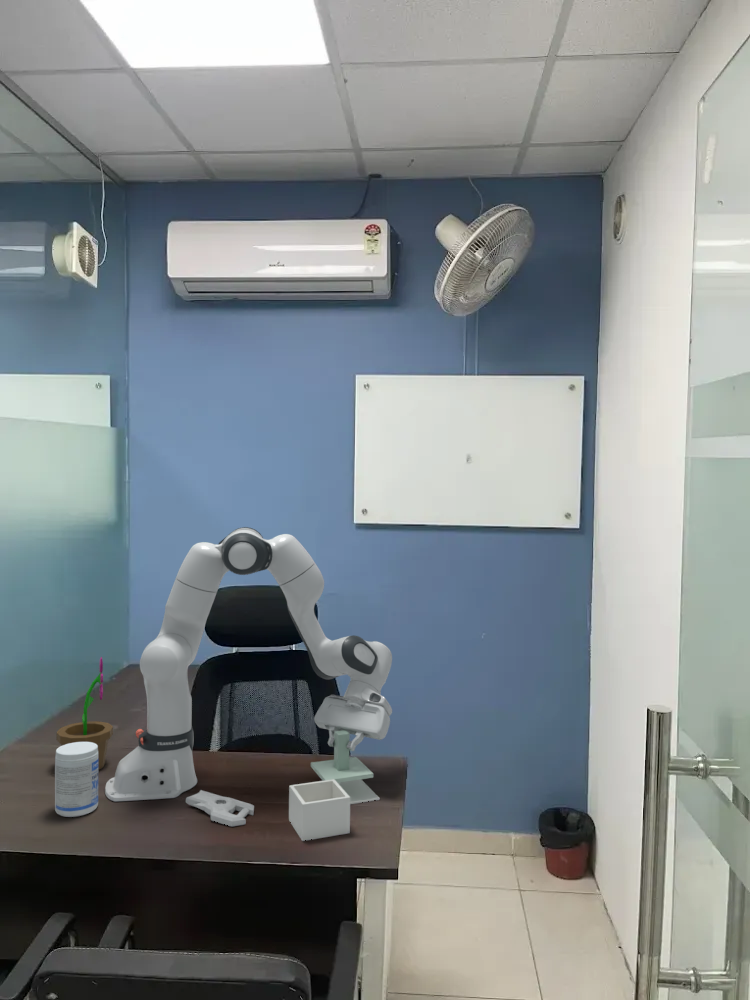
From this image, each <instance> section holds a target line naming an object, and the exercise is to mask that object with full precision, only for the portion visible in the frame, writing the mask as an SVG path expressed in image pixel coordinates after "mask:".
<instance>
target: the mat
mask: <svg viewBox="0 0 750 1000" xmlns="http://www.w3.org/2000/svg"><path fill="white" fill-rule="evenodd" d="M338 784H339V785H340V786H341V787H342V788H343V790H344V791H345V792H346V793H347V794H348V795H349V796H350V805H356V804H361V803H362V802H363V803H368V801H369V802H375V801H374V800H376V801H380V797H379V796H378V795H377V794H376V793H375V792H374V791H373V790H372V788H370V786H369V785H368V784H367V783H365V782H364V781H363V779H360V780H353V781H346V782H339V783H338Z"/></svg>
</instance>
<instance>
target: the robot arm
mask: <svg viewBox="0 0 750 1000" xmlns="http://www.w3.org/2000/svg"><path fill="white" fill-rule="evenodd" d="M265 570H267V571H269V573H270V574H271V575H272V577H273V578H274V579H275V581H276V583H277V584H278V586H279V588H280V589H281V591H282V592H283V595H284V597H285V600H286V607H287V611H288V614H289V616H290V618H291V620H292V623H293V625H294V627H295V628H296V631H297V632H298V635H299V637H300V640H301V641H302V643H303V644H304V647H305V650H306V651H307V654H308V657H309V661H310V665H311V668H312V670H313V672H314V673H315V675H317V676H318V677H319V678H320V679H321V678H322V679H323V680H333V679H335V678H338V677H340V676H346V675H347V676H348V677H349V678H350V680H349V683H348V685H347V688H346V691H345V692H344V695H343V696H342V695H336V694H330V695H329V696H326V697H324V699H323V701H322V704H320V706H319V707H318V710H317V712H316V713H315V715H314V719H313V720H314V723H315V725H317V727H318V728H319V729H324V730H328V734H329V738H328V741H327V744H328V746H329V747H332V748H334V731H342V730H346V731H347V732H348V733H349V734H350V735H353V736H355V737H354V738H353V739H352V740H349V742H348V745H347V749H348V750H349V751H350V752H355V751H356V750H355V749H356V748H357V746H358V745H359V744H360V743H362V741H364V738H368V739H374V740H379V741H382V740H384V739H385V738H386V737H387V734H388V731H389V728H390V724H391V718H390V716H392V713H393V709H392V706H391V704H390V703H389V701H388V700H387V699H386V698H385V696H383V695H381V694H382V693H381V691H382V688H383V686H384V685H385V684H386V682H387V679H388V676H389V673H390V671H391V668H392V663H393V654H392V651H391V650H390V648H389V647H388V646H387V645H385V644H384V643H382V642H380V641H377V640H373V641H369V640H368V641H367V640H365V639H364V638H362V637H361V636H359V635H348V636H343V637H340V638H338V639H334V640H332V639H330V638H328V637H327V636H326V635H325V633H324V630H323V628H322V626H321V624H320V622H319V621H318V618H317V616H316V613H315V606H316V603H317V602H318V601H319V599H320V598H321V597H322V595H323V592H324V588H325V579H324V576H323V574H322V571H321V570H320V568H319V567H318V565H317V564H316V562H315V561H314V559H313V557H312V556H311V555H310V553H309V552H308V551H307V550H306V548H305V547H304V546H303V545H302V543H301V542H300V541H299V540H298V539H297V538H296V537H295V536H294V535H292V534H289V533H283V534H279V535H276V536H274V537H272V538H270V539H266V538H264V537H263V535H262V533H260V532H259V531H258V530H256V529H254V528H251V527H248V526H243V527H238V528H236V529H234V530H232V531H231V532H230V533H229V534H227V536H225V537H224V538H223V539H221V540H220V541H219V542H218V544H216V543H215V544H214V543H212V542H207V541H206V542H205V541H202V542H196V543H195V544H193V545H192V546H191V548H190V549H189V551H188V552H187V554H186V556H185V557H184V559H183V561H182V563H181V565H180V567H179V569H178V572H177V574H176V577H175V579H174V581H173V585H172V587H171V590H170V593H169V595H168V598H167V601H166V603H165V606H164V609H165V610H164V613H163V614H164V615H163V620H162V624H161V627H160V629H159V633H158V635H157V636H156V637H155V639H154V640H151V642H149V643H148V644H147V645H146V646H145V648H144V649H143V652H142V653H141V657H140V659H139V669H140V672H141V674H142V677H143V684H144V687H145V688H144V689H145V693H146V694H145V695H146V702H147V703H146V704H147V707H146V708H147V709H146V710H147V711H146V712H147V714H146V720H147V721H146V722H147V724H146V729H145V730H143V729H142V728H139V729H137V730H136V731H135V735H136V738H137V739H138V746H136V747H135V748H134V749H133V750H131V751H130V752H129V753H128V754H127V755H125V756H124V757H123V758H122V759H120V761H119V762H118V763H117V766H116V768H115V769H116V770H115V774H114V777H111V778H109V780H107V782H106V784H105V786H104V787H105V788H104V793H105V796H106V798H107V799H109V800H110V801H113V802H131V801H143V800H144V801H145V800H147V801H148V800H161V799H163V800H164V799H175V798H177V797H179V796H180V795H181V794H182V793H185V792H186V791H189V790H191V789H192V788H194V787H195V786H196V785H197V783H198V778H197V776H196V775H197V774H196V772H195V771H196V770H195V766H194V765H195V764H194V758H193V747H194V728H193V726H192V716H193V715H192V710H193V709H192V708H193V707H192V706H193V704H192V703H193V702H192V701H193V700H192V695H191V692H190V685H189V679H188V670H189V666H190V665H191V664H192V663H193V662H194V661H195V659H196V657H197V654H198V651H199V648H200V644H201V641H202V639H203V634H204V631H205V627H206V623H207V619H208V617H209V615H210V612H211V609H212V606H213V604H214V601H215V598H216V595H217V593H218V590H219V587H220V585H221V582H222V580H223V578H224V577H225V574H227V573H228V572H229V571H230V572H231V573H233V574H235V575H239V576H240V575H241V576H245V575H246V576H247V575H252V574H255V573H258V572H261V571H265Z"/></svg>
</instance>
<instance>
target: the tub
mask: <svg viewBox="0 0 750 1000" xmlns="http://www.w3.org/2000/svg"><path fill="white" fill-rule="evenodd" d="M288 791H289V792H288V821H289V823H290V822H291V823H290V824H291V826H292V827H293V829H294V830H295V832H296V834H297V835H298V837H299V839H300V840H301V841H302V842H306V841H312V840H317V839H322V838H323V839H324V838H328V837H335V836H339V835H346V834H351V833H350V832H351V804H350V796H349V795H348V794H347V793H346V792H345V791H344V790H343V788H342V787H341V786H340V785H339V784H338V783H337V782H336V780H335V779H332V780H325V781H322V780H319V781H312V782H304V783H299V784H298V783H297V784H291V785H289V787H288ZM311 839H312V840H311ZM305 840H306V841H305Z"/></svg>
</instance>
